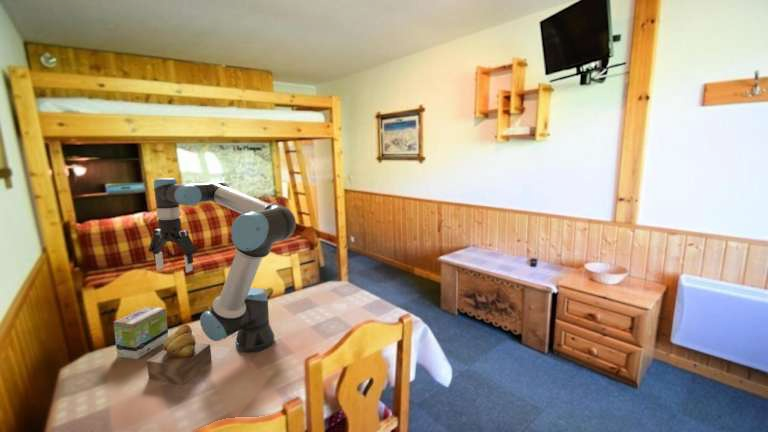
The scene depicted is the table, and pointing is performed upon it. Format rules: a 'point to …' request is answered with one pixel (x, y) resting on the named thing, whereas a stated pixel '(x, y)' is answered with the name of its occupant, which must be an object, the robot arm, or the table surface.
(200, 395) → the table surface
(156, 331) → the tea box
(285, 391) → the table surface
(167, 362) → the walnut block
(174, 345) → the bread roll
